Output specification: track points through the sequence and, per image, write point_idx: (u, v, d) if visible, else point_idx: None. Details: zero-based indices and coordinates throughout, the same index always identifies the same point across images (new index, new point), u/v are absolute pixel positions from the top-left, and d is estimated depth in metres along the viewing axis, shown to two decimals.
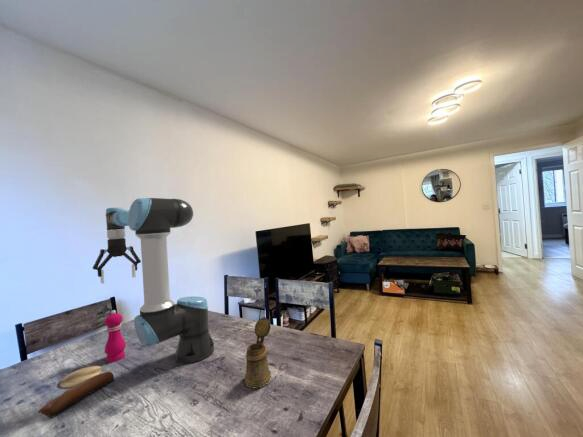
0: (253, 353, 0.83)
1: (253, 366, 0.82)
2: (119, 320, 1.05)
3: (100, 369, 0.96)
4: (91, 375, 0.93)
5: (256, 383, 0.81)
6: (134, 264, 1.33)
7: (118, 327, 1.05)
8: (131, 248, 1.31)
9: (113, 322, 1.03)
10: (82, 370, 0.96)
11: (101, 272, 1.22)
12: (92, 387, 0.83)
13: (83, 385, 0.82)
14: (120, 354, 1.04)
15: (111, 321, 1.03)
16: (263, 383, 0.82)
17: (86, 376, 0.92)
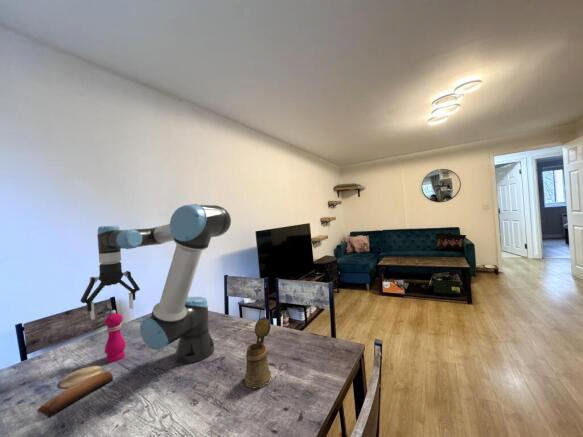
0: (253, 353, 0.83)
1: (253, 366, 0.82)
2: (119, 320, 1.05)
3: (100, 369, 0.96)
4: (91, 375, 0.93)
5: (256, 383, 0.81)
6: (132, 293, 1.10)
7: (118, 327, 1.05)
8: (128, 274, 1.09)
9: (113, 322, 1.03)
10: (82, 370, 0.96)
11: (91, 305, 0.99)
12: (91, 387, 0.83)
13: (82, 385, 0.83)
14: (120, 354, 1.04)
15: (111, 321, 1.03)
16: (263, 383, 0.82)
17: (86, 376, 0.92)
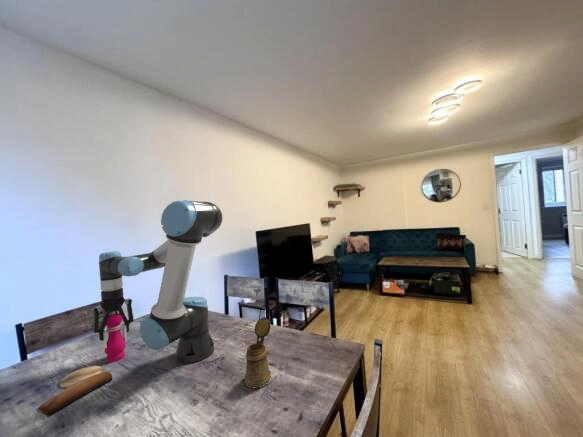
0: (253, 353, 0.83)
1: (253, 366, 0.82)
2: (119, 320, 1.05)
3: (100, 369, 0.96)
4: (91, 375, 0.93)
5: (256, 383, 0.81)
6: (125, 324, 1.08)
7: (118, 327, 1.05)
8: (129, 302, 1.09)
9: (113, 322, 1.03)
10: (82, 370, 0.96)
11: (103, 335, 1.02)
12: (90, 387, 0.84)
13: (81, 384, 0.83)
14: (120, 354, 1.04)
15: (111, 321, 1.03)
16: (263, 383, 0.82)
17: (86, 376, 0.92)
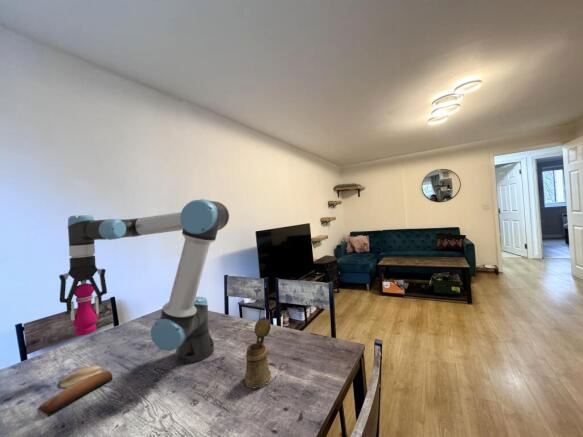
0: (253, 353, 0.83)
1: (253, 366, 0.82)
2: (89, 290, 0.95)
3: (100, 369, 0.96)
4: (91, 375, 0.93)
5: (256, 383, 0.81)
6: (97, 296, 0.98)
7: (88, 298, 0.95)
8: (102, 271, 0.99)
9: (82, 292, 0.93)
10: (82, 370, 0.96)
11: (71, 306, 0.92)
12: (90, 387, 0.84)
13: (81, 384, 0.83)
14: (90, 328, 0.95)
15: (80, 290, 0.93)
16: (263, 383, 0.82)
17: (86, 376, 0.92)
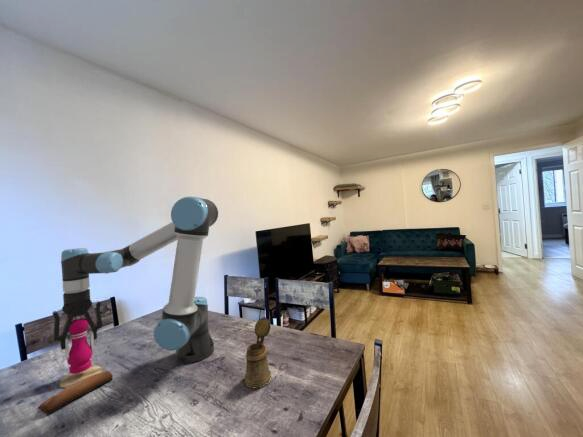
0: (253, 353, 0.83)
1: (253, 366, 0.82)
2: (84, 325, 0.92)
3: (100, 369, 0.96)
4: (91, 375, 0.93)
5: (256, 383, 0.81)
6: (92, 330, 0.95)
7: (83, 334, 0.92)
8: (97, 305, 0.97)
9: (77, 328, 0.91)
10: None
11: (65, 343, 0.89)
12: (90, 387, 0.84)
13: (81, 384, 0.83)
14: (85, 364, 0.92)
15: (75, 327, 0.90)
16: (263, 383, 0.82)
17: (86, 376, 0.92)
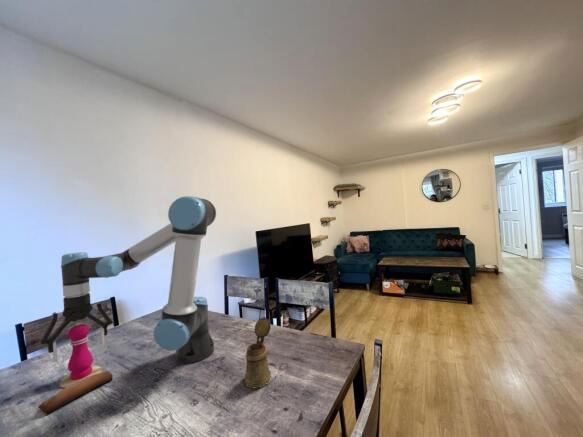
0: (253, 353, 0.83)
1: (253, 366, 0.82)
2: (84, 332, 0.92)
3: (100, 369, 0.96)
4: (91, 375, 0.93)
5: (256, 383, 0.81)
6: (103, 327, 0.98)
7: (84, 340, 0.92)
8: (98, 306, 0.97)
9: (77, 334, 0.91)
10: None
11: (53, 346, 0.87)
12: (89, 387, 0.84)
13: (81, 384, 0.83)
14: (86, 371, 0.92)
15: (75, 333, 0.90)
16: (263, 383, 0.82)
17: (86, 376, 0.92)
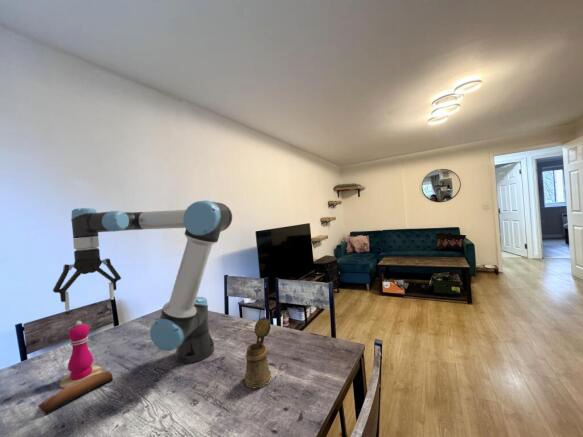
0: (253, 353, 0.83)
1: (253, 366, 0.82)
2: (84, 332, 0.92)
3: (100, 369, 0.96)
4: (91, 375, 0.93)
5: (256, 383, 0.81)
6: (112, 282, 1.01)
7: (84, 340, 0.92)
8: (107, 261, 1.00)
9: (77, 334, 0.91)
10: None
11: (65, 296, 0.90)
12: (89, 387, 0.84)
13: (81, 383, 0.83)
14: (86, 371, 0.92)
15: (75, 333, 0.90)
16: (263, 383, 0.82)
17: None
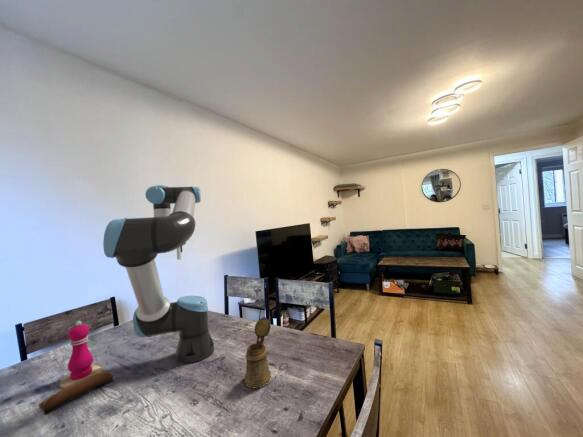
0: (253, 353, 0.83)
1: (253, 366, 0.82)
2: (84, 332, 0.92)
3: (100, 369, 0.96)
4: (91, 375, 0.93)
5: (256, 383, 0.81)
6: (179, 246, 1.27)
7: (84, 340, 0.92)
8: None
9: (77, 334, 0.91)
10: None
11: None
12: (89, 387, 0.84)
13: (81, 383, 0.83)
14: (86, 371, 0.92)
15: (75, 333, 0.90)
16: (263, 383, 0.82)
17: None
